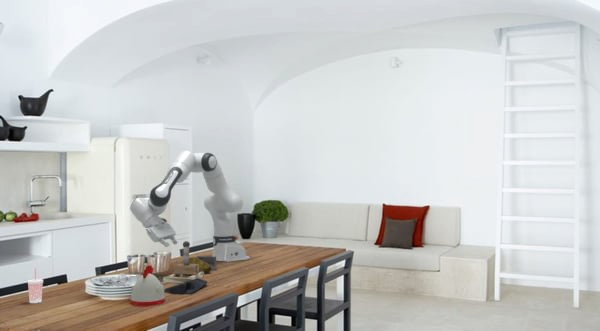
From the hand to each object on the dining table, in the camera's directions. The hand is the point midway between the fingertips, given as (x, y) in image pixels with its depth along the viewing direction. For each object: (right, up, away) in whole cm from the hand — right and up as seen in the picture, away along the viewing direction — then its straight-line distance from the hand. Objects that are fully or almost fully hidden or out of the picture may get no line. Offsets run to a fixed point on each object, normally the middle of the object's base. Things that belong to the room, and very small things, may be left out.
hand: (172, 244), depth 308 cm
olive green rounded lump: (+11, -17, +14) cm, 24 cm away
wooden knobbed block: (+8, -16, -1) cm, 18 cm away
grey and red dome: (+1, -17, -51) cm, 54 cm away
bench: (+9, -17, +6) cm, 20 cm away
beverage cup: (-46, -17, -51) cm, 71 cm away
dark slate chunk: (+12, -18, -26) cm, 33 cm away
